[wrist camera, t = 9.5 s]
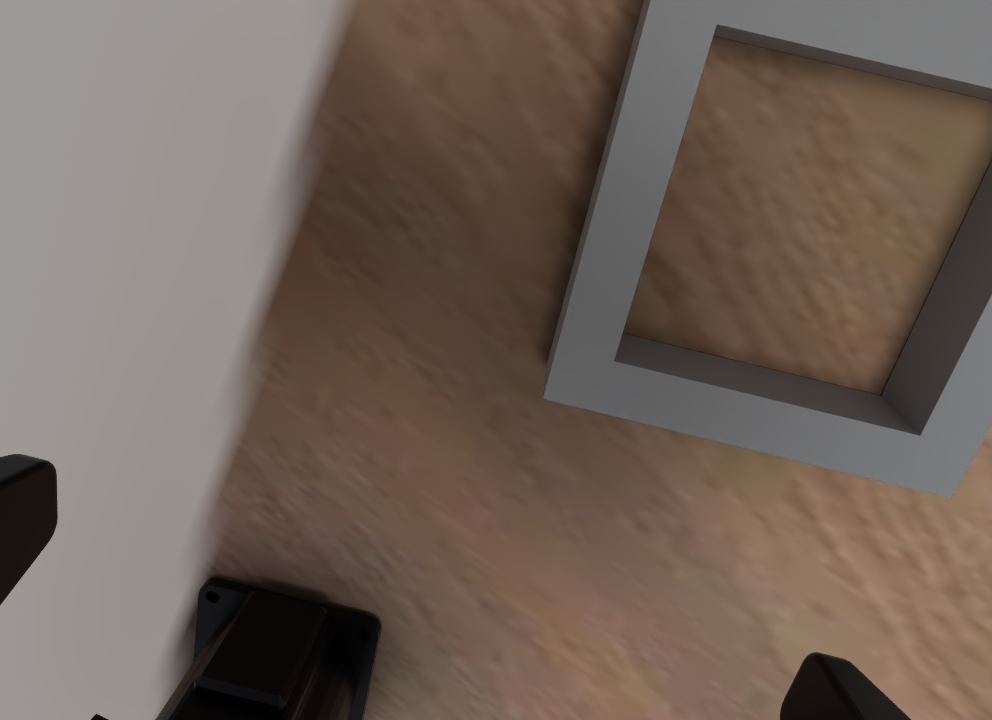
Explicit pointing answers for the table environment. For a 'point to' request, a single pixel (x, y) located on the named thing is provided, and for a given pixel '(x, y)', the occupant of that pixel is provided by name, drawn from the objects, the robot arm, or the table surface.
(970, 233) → the dock board
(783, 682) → the table surface
